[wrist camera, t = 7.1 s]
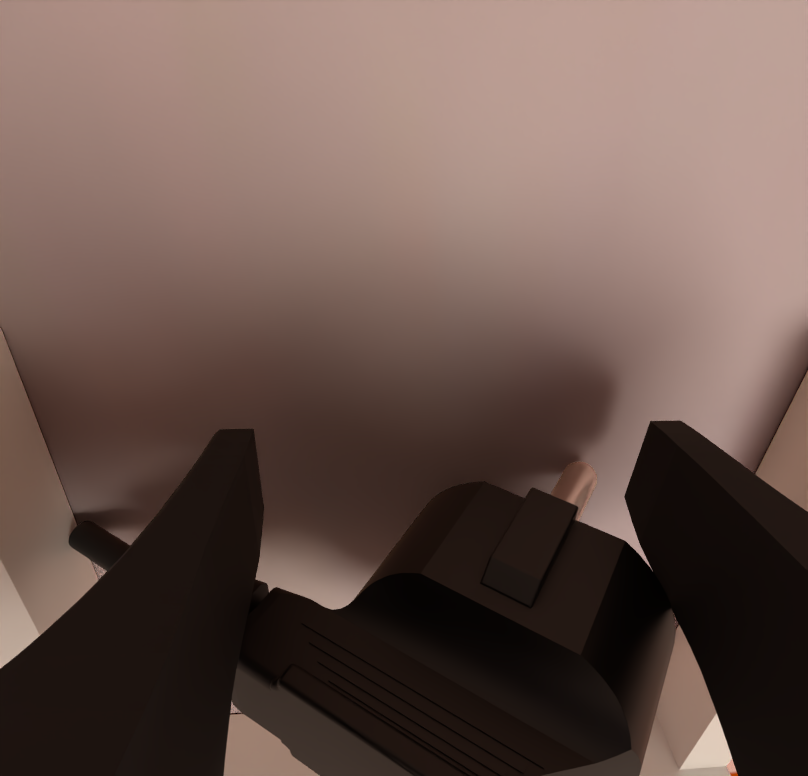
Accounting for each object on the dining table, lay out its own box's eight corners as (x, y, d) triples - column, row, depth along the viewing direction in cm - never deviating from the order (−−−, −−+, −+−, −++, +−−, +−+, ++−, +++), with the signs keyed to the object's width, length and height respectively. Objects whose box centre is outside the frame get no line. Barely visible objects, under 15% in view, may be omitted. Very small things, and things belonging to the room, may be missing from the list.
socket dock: (127, 776, 21) (80, 962, 17) (-89, 328, 11) (-323, 540, 7) (657, 739, 23) (722, 901, 19) (899, 323, 13) (1144, 490, 9)
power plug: (1, 464, 12) (647, 868, 7) (268, 302, 17) (740, 466, 12) (85, 634, 15) (559, 983, 10) (286, 454, 20) (661, 629, 16)
